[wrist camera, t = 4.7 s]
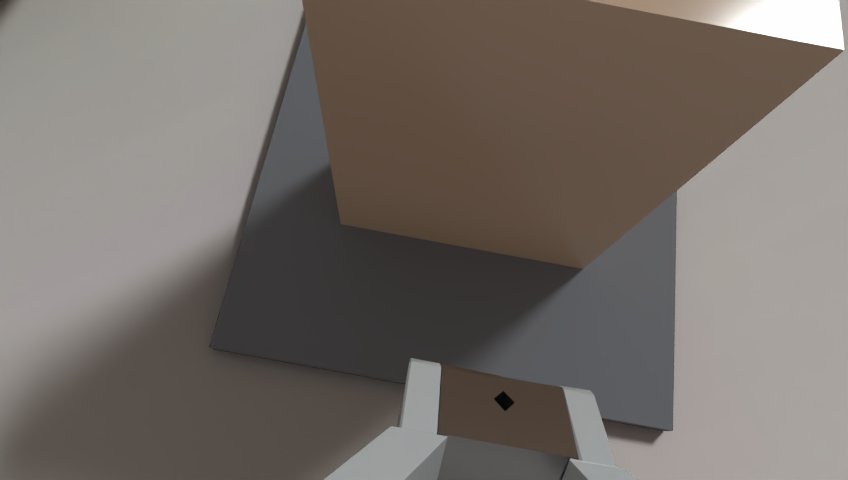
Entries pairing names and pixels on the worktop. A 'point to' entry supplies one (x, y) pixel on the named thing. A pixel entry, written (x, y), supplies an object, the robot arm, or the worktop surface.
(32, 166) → the worktop surface
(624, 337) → the mat
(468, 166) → the block
